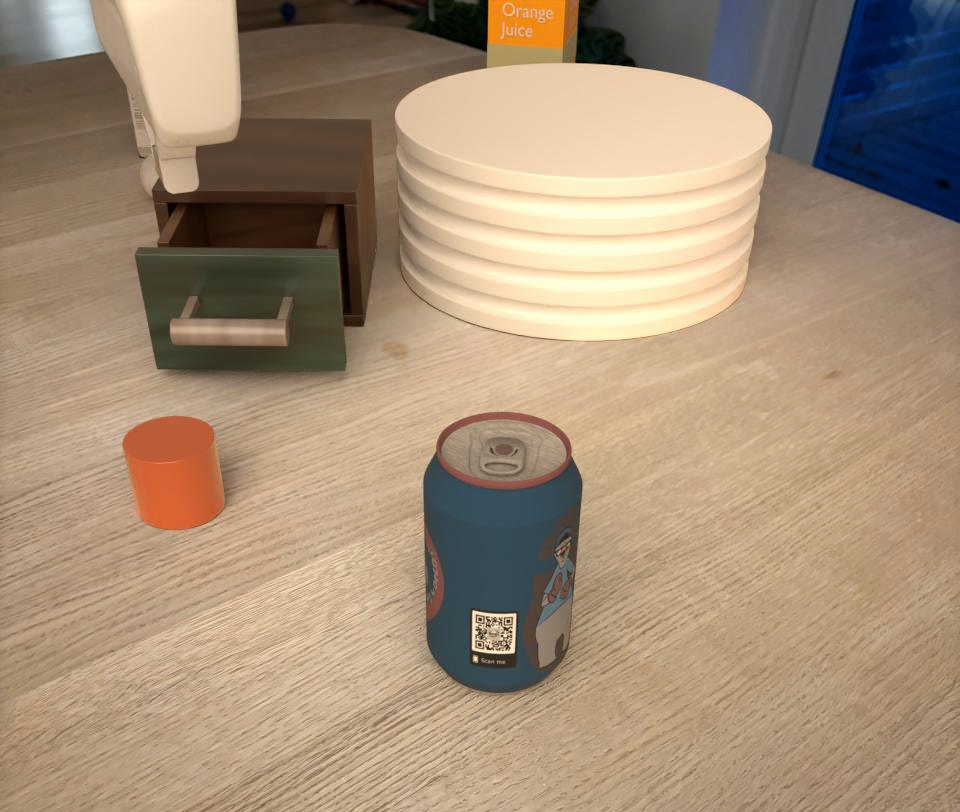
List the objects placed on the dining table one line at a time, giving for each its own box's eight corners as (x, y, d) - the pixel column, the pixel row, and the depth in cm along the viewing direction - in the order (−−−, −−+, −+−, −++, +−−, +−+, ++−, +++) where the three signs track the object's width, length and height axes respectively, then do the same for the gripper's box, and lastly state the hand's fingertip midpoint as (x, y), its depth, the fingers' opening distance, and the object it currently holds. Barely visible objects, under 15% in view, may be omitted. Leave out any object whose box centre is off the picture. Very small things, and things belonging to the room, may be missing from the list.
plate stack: (432, 356, 79) (430, 190, 71) (377, 211, 99) (371, 70, 92) (803, 324, 83) (838, 165, 76) (677, 191, 104) (694, 56, 96)
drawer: (338, 411, 71) (328, 292, 66) (139, 409, 71) (113, 290, 66) (361, 280, 86) (354, 175, 81) (196, 279, 86) (179, 173, 81)
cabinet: (364, 326, 82) (355, 191, 76) (175, 325, 82) (151, 189, 76) (377, 242, 94) (371, 119, 88) (212, 241, 94) (194, 117, 88)
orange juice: (573, 115, 121) (587, -105, 108) (558, 141, 115) (571, -90, 102) (502, 109, 122) (507, -109, 109) (484, 134, 116) (487, -95, 103)
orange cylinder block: (128, 529, 63) (112, 462, 60) (147, 480, 67) (133, 415, 64) (217, 530, 63) (206, 463, 60) (231, 481, 67) (221, 415, 64)
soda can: (436, 606, 58) (433, 399, 50) (570, 616, 58) (588, 409, 50) (417, 699, 53) (410, 484, 45) (564, 711, 52) (583, 496, 44)
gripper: (29, -157, 57) (89, 131, 66) (84, -93, 42) (151, 264, 51) (156, -161, 58) (197, 120, 67) (249, -101, 44) (285, 245, 53)
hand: (178, 184), depth 59 cm, fingers closed
